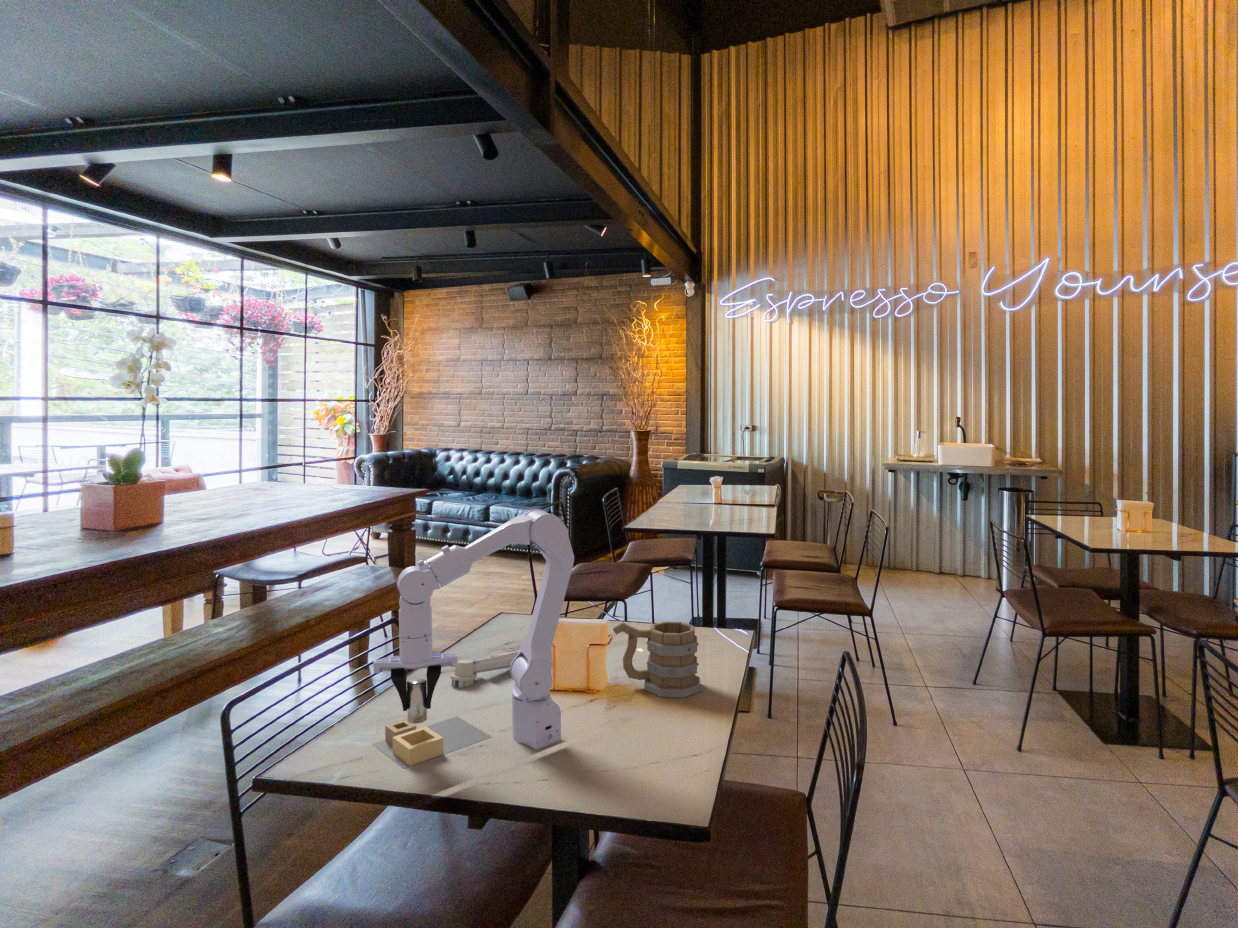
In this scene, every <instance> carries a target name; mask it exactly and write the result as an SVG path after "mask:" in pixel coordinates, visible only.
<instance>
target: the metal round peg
mask: <svg viewBox="0 0 1238 928" xmlns="http://www.w3.org/2000/svg"><path fill="white" fill-rule="evenodd" d="M426 701H427V679H425V678H413V679H409V680H408V681H407V711H406V712H407V720H408V722H409V723H412V724H414V725H416V724H421V723H424V722H426V721H427V720H428V709H426Z"/></svg>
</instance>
